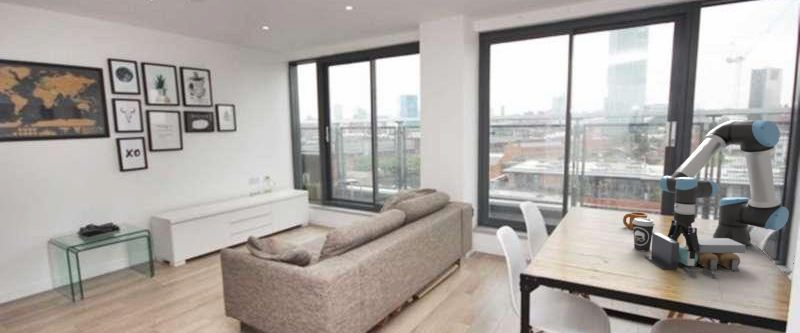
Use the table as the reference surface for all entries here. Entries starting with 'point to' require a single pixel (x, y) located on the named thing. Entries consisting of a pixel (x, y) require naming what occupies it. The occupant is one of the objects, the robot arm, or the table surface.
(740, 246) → the slab
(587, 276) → the table surface
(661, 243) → the block
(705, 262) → the roller
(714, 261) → the roller bed
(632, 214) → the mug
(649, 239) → the coffee cup
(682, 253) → the roller
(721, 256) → the roller
